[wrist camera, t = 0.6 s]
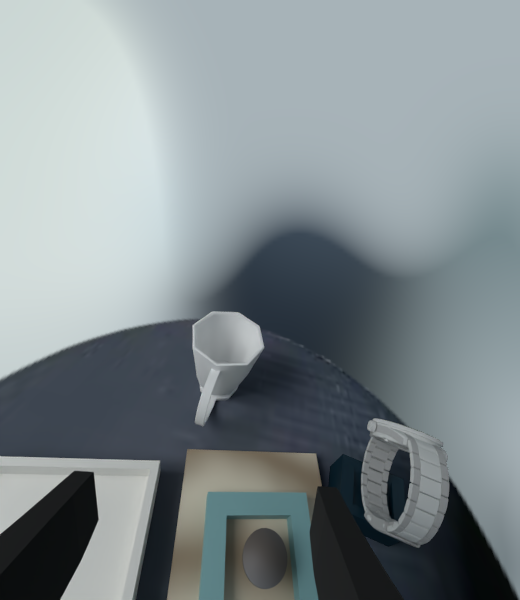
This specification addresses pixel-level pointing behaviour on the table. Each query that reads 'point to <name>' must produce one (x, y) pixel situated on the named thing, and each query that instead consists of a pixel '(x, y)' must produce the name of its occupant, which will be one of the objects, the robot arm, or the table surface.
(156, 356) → the table surface
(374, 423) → the watch
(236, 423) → the table surface
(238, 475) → the board
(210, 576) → the teal frame with handle
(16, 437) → the table surface
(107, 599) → the tray
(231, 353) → the cup
